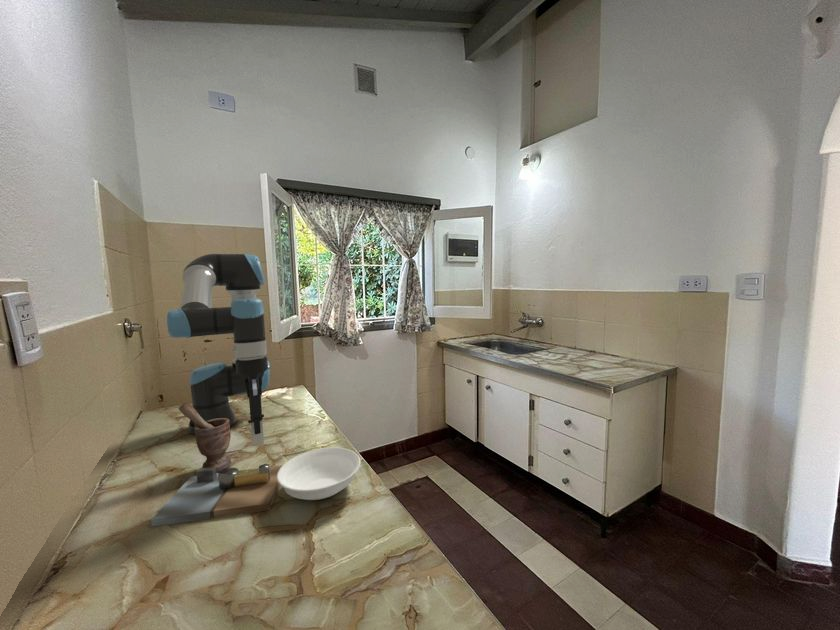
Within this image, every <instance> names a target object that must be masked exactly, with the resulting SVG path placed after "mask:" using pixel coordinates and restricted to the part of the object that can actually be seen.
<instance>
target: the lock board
mask: <svg viewBox="0 0 840 630" xmlns="http://www.w3.org/2000/svg"><path fill="white" fill-rule="evenodd" d="M283 465H284V464H283ZM283 465H276V466H269V468H270V475H271V477H270V480H269V481H268V482H264V483H256V484H249V485H241V486H234V487H232V488H230V489H220V488H219V481H218V474H219V473H220V472H216V467H211V468H202V467H200V468H199V469H198V470H196V475H191V476H190V477H189V478H188V479H187V480H186V481H185V482H184V483H183V484H182V486H181V487H180V488H178V490H177V491H176V492H175V493H174V495H172V496H171V497H170V498H169V499H168V501H167V502H166V503H164V505H162V507H161V508H160V509H159V511H158V512H157V513H155V515H154V516H153V517H152V518H151V520H150V521H151V527H157V526H158V527H159V526H164V525H165V526H166V525H174V524H179V523H186V522H195V521H200V520H207V519H216V518H221V517H229V516H236V515H244V514H252V513H258V512H265V511H270V509H271V507H272V505H273V502H274V500H275V497H276V496H277V493H278V490H279V488H280V487H281V485H280V484H279V483H278V481H277V474H278V471H279V470H280V468H281V467H282V466H283ZM254 469H259V467H258V468H251V469H241V470H239V471H246V470H254Z"/></svg>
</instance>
